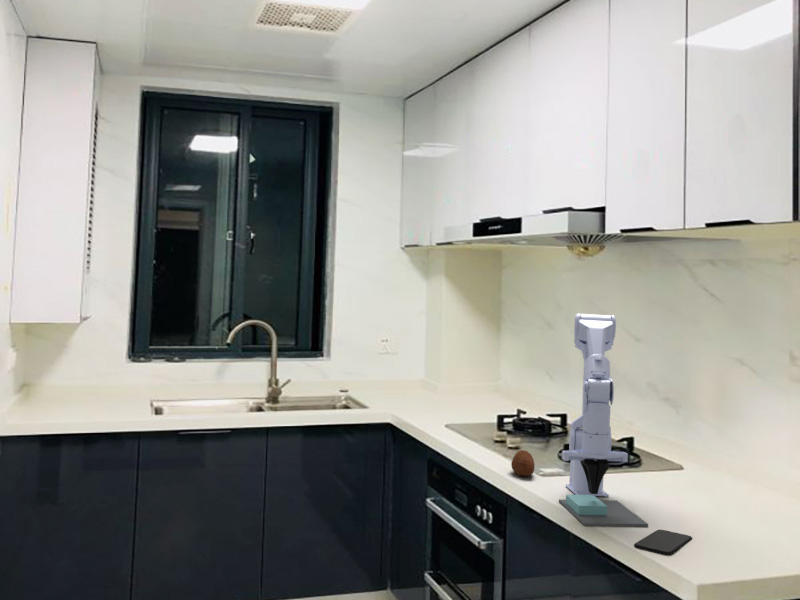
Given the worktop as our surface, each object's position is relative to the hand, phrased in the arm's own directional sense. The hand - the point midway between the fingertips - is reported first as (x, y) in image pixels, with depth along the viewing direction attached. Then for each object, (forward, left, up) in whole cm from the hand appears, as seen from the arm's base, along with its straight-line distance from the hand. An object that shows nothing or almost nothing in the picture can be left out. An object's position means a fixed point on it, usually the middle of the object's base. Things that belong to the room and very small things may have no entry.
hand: (593, 492), depth 176 cm
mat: (+1, +2, -4) cm, 5 cm away
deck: (0, +2, -3) cm, 3 cm away
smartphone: (+20, +8, -5) cm, 22 cm away
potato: (-34, -7, -5) cm, 35 cm away
